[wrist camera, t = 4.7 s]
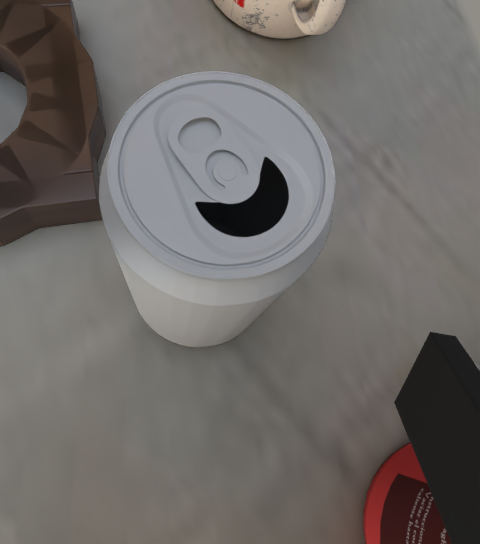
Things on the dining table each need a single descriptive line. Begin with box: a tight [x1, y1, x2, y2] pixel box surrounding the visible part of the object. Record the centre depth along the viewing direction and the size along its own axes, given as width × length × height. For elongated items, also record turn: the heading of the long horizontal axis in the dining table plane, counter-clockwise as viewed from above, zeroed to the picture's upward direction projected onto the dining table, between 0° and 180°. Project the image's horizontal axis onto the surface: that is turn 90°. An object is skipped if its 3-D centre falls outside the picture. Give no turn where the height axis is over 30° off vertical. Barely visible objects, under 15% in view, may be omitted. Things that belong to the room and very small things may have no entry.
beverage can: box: [99, 71, 335, 347], centre depth 17 cm, size 6×6×12 cm
